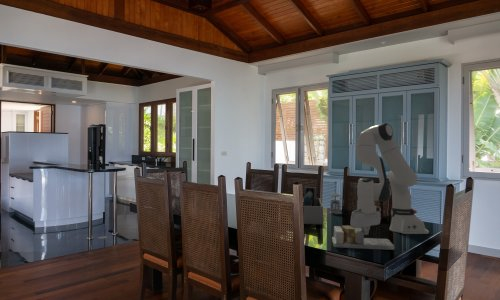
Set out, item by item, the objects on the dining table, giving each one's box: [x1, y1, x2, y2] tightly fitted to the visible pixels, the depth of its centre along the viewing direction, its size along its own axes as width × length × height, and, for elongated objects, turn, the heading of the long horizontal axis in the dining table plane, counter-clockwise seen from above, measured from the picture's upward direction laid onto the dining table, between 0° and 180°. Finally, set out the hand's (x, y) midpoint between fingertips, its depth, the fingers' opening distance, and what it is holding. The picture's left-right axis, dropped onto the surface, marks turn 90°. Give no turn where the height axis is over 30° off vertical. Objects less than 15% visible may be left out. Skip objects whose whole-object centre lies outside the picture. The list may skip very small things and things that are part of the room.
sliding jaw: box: [354, 227, 365, 244], centre depth 192 cm, size 4×14×6 cm, turn 171°
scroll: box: [374, 201, 387, 220], centre depth 263 cm, size 15×15×20 cm
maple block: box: [341, 225, 355, 242], centre depth 194 cm, size 4×8×7 cm, turn 7°
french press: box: [328, 181, 345, 215], centre depth 285 cm, size 10×12×25 cm
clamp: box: [303, 186, 317, 206], centre depth 263 cm, size 35×9×21 cm, turn 167°
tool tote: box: [302, 197, 324, 225], centre depth 263 cm, size 14×40×12 cm, turn 171°
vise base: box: [331, 225, 395, 251], centre depth 192 cm, size 30×14×8 cm, turn 81°
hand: (365, 234), depth 191 cm, fingers closed
